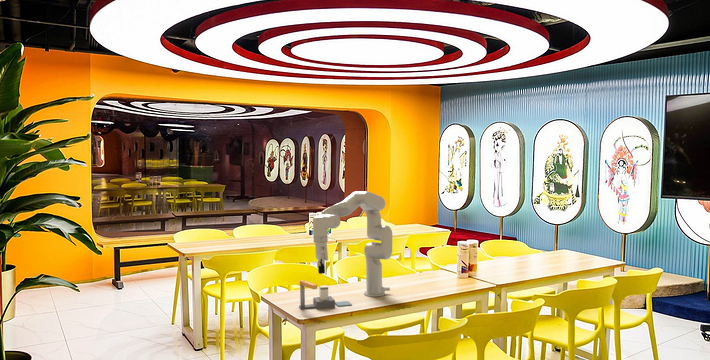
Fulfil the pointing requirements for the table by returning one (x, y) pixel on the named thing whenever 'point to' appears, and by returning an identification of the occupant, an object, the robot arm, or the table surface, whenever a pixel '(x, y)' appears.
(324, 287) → the plug
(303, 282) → the latch bar
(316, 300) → the socket block
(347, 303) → the pad
